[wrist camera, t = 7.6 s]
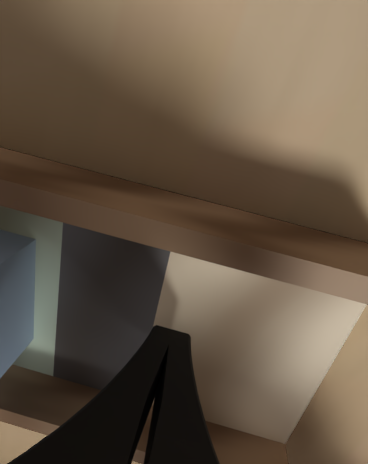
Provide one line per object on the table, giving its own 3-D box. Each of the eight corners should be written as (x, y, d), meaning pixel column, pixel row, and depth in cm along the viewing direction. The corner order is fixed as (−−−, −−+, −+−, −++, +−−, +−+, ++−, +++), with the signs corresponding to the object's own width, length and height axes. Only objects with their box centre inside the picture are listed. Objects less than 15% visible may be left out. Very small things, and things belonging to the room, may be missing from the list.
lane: (382, 247, 10) (431, 293, 8) (276, 437, 15) (286, 506, 12) (-224, 89, 11) (-355, 84, 9) (-157, 311, 16) (-233, 351, 13)
